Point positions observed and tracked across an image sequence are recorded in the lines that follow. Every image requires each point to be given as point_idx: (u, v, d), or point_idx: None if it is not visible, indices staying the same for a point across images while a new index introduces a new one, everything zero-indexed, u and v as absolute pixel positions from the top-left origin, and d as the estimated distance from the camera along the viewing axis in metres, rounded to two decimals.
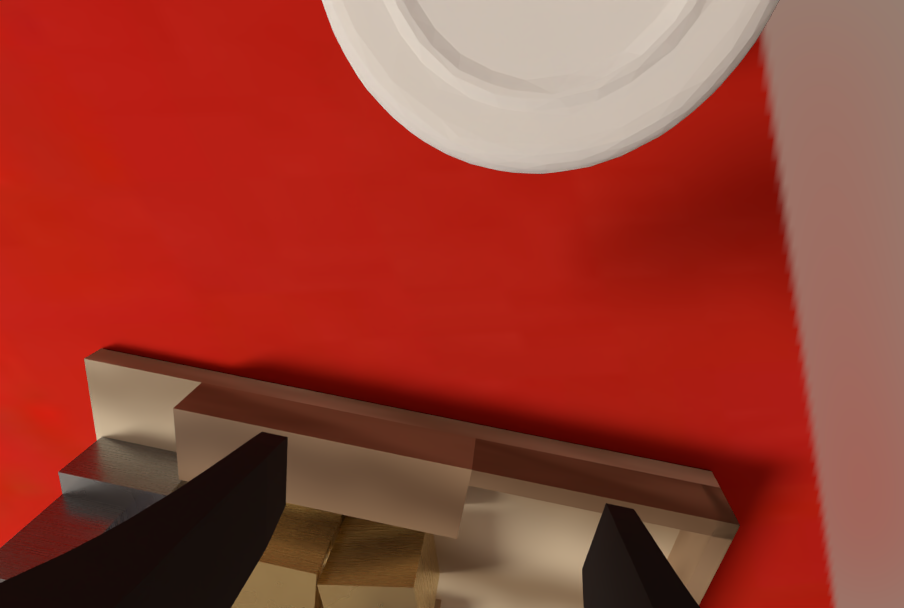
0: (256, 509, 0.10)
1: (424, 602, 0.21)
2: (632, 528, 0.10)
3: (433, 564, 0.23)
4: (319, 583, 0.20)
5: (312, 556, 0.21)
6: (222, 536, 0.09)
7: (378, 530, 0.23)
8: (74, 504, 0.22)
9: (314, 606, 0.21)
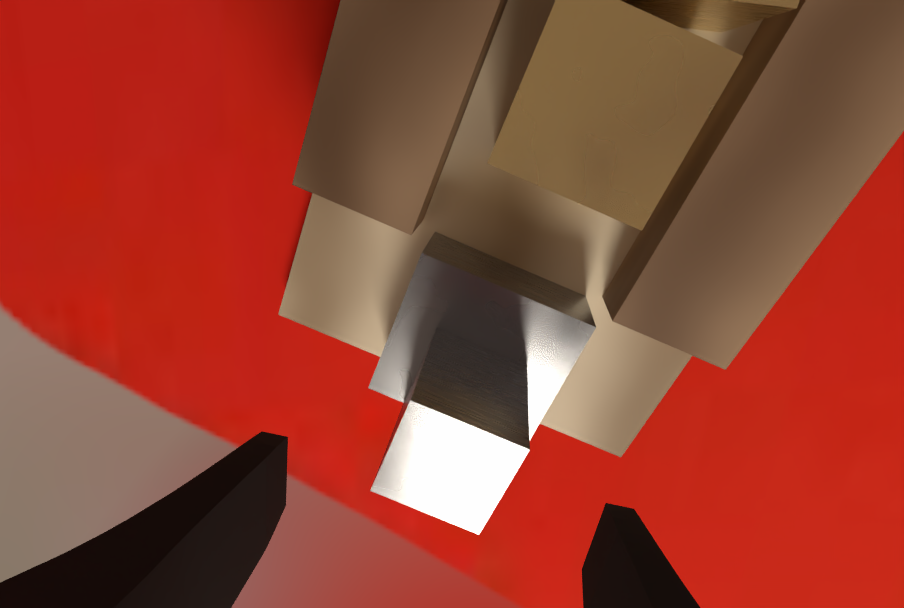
0: (256, 509, 0.10)
1: None
2: (632, 528, 0.10)
3: None
4: None
5: None
6: (222, 536, 0.09)
7: None
8: (410, 387, 0.16)
9: (654, 17, 0.10)
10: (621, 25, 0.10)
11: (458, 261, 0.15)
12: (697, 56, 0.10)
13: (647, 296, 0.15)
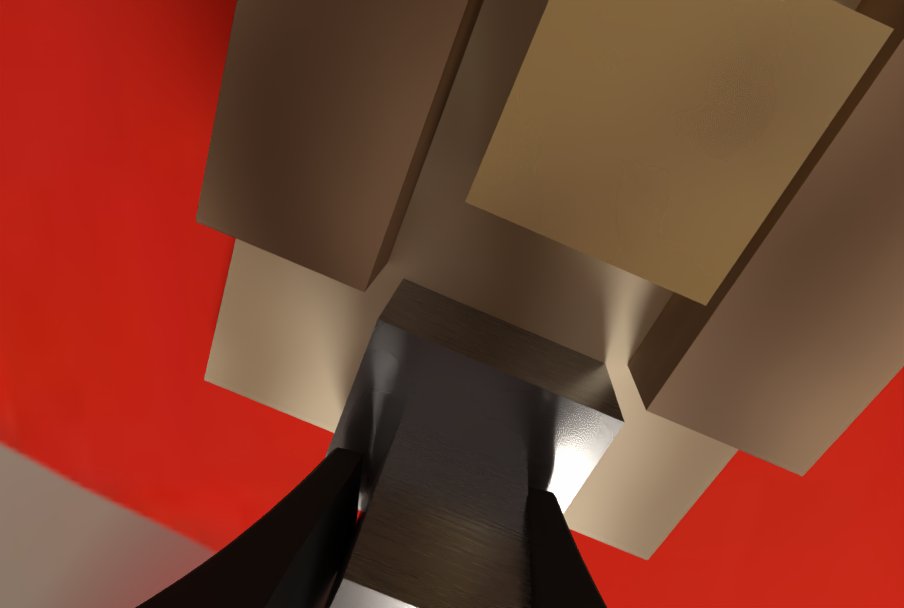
0: (339, 527, 0.10)
1: None
2: (544, 510, 0.10)
3: None
4: None
5: None
6: (315, 556, 0.09)
7: None
8: (367, 496, 0.11)
9: None
10: None
11: (431, 327, 0.11)
12: (814, 29, 0.06)
13: (696, 378, 0.10)
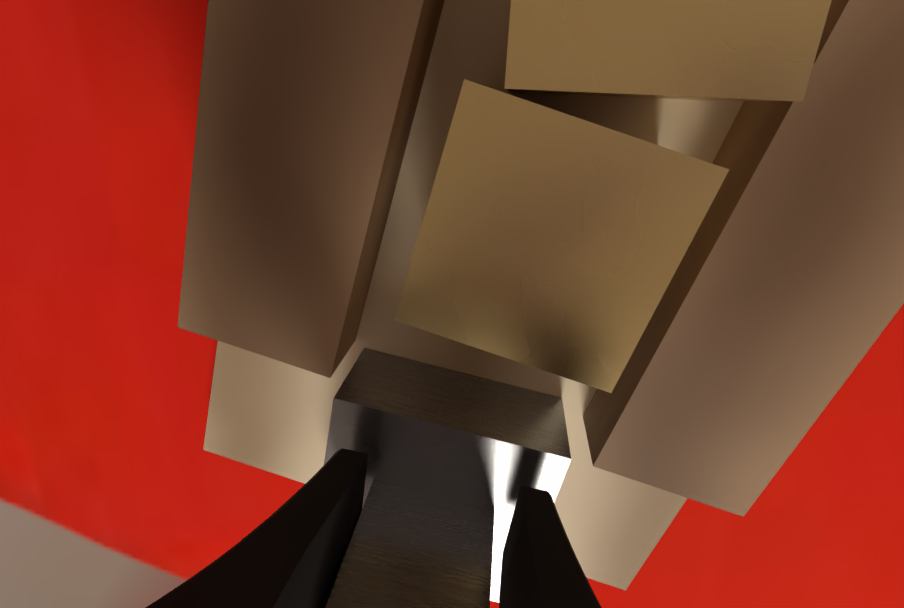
0: (344, 528, 0.10)
1: None
2: (539, 509, 0.10)
3: None
4: None
5: None
6: (321, 558, 0.09)
7: None
8: None
9: (596, 124, 0.07)
10: (550, 139, 0.07)
11: (385, 395, 0.12)
12: (663, 173, 0.07)
13: (633, 436, 0.11)
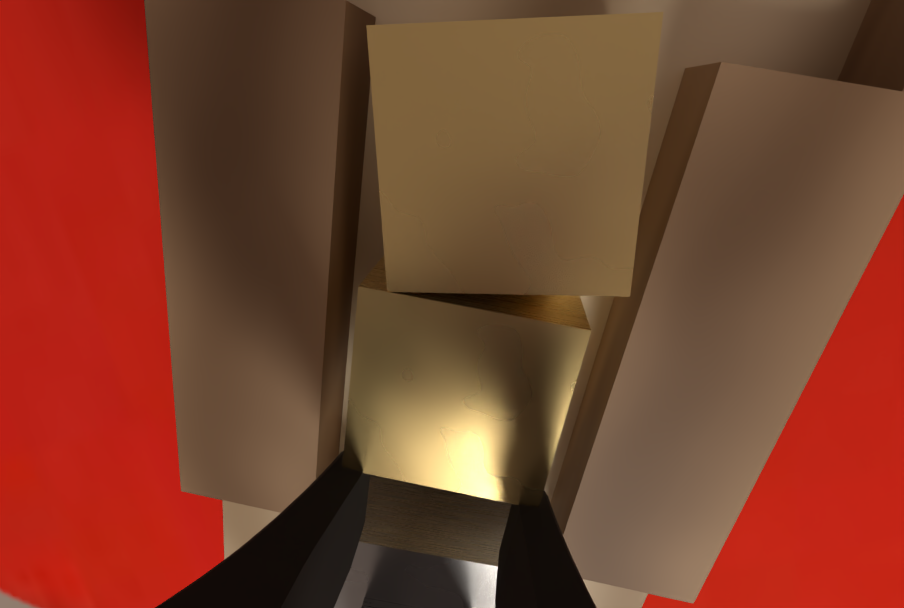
0: (349, 529, 0.10)
1: None
2: (535, 508, 0.10)
3: None
4: None
5: None
6: (326, 559, 0.09)
7: None
8: None
9: (473, 307, 0.09)
10: (438, 322, 0.09)
11: (367, 524, 0.14)
12: (537, 339, 0.09)
13: (580, 545, 0.13)
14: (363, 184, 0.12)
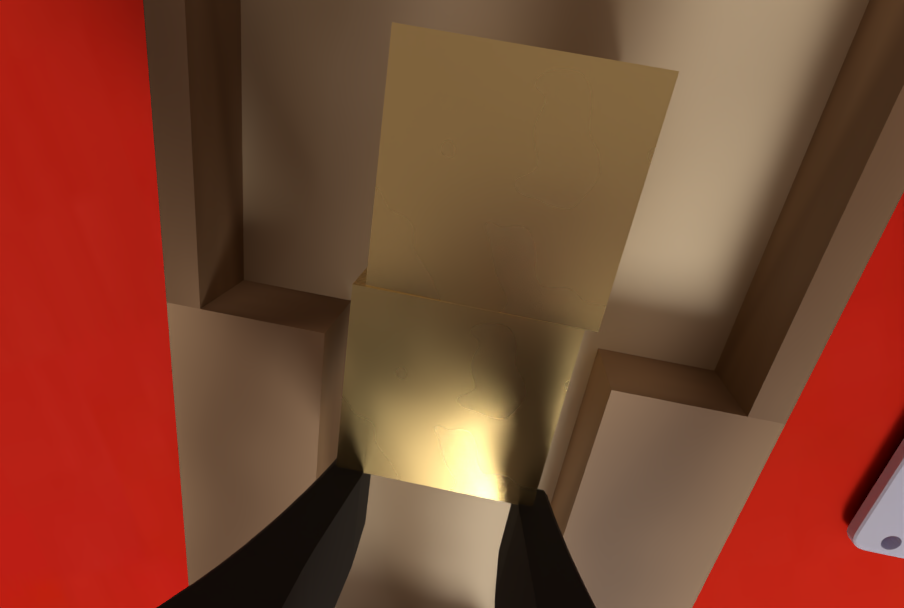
0: (349, 529, 0.10)
1: None
2: (535, 508, 0.10)
3: None
4: (366, 280, 0.09)
5: None
6: (327, 559, 0.09)
7: None
8: None
9: (467, 306, 0.09)
10: (432, 321, 0.09)
11: None
12: (531, 337, 0.09)
13: None
14: None
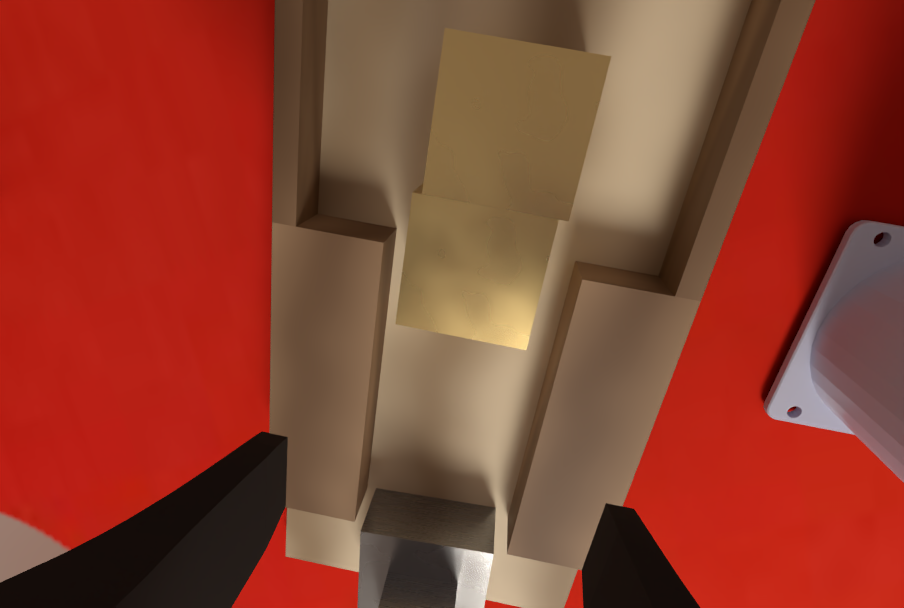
0: (256, 509, 0.10)
1: None
2: (632, 528, 0.10)
3: None
4: (422, 190, 0.14)
5: None
6: (222, 536, 0.09)
7: None
8: None
9: (485, 206, 0.13)
10: (462, 216, 0.14)
11: (389, 524, 0.21)
12: (525, 226, 0.14)
13: (524, 537, 0.20)
14: (387, 316, 0.19)
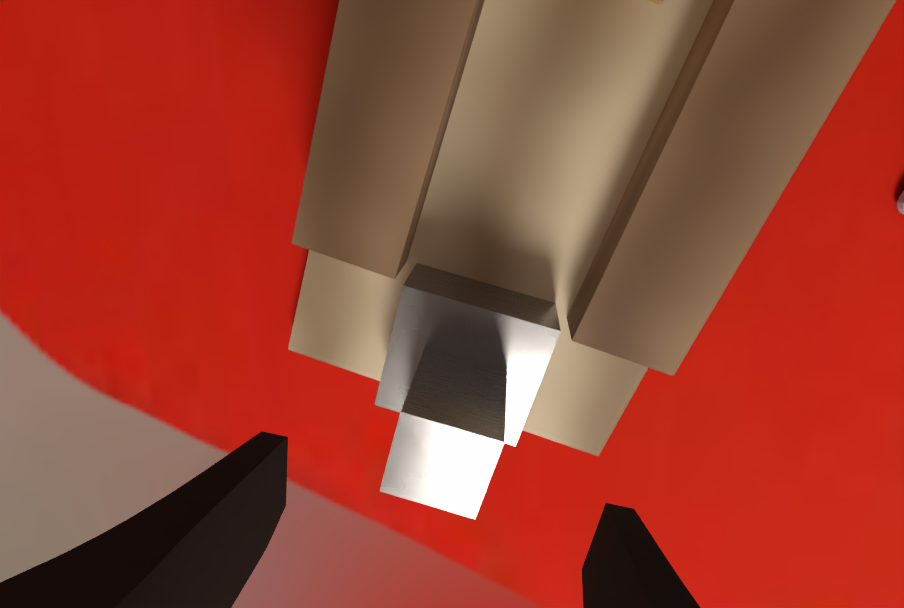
0: (256, 509, 0.10)
1: None
2: (632, 528, 0.10)
3: None
4: None
5: None
6: (222, 536, 0.09)
7: None
8: None
9: None
10: None
11: (436, 287, 0.17)
12: None
13: (598, 317, 0.17)
14: (482, 10, 0.16)
